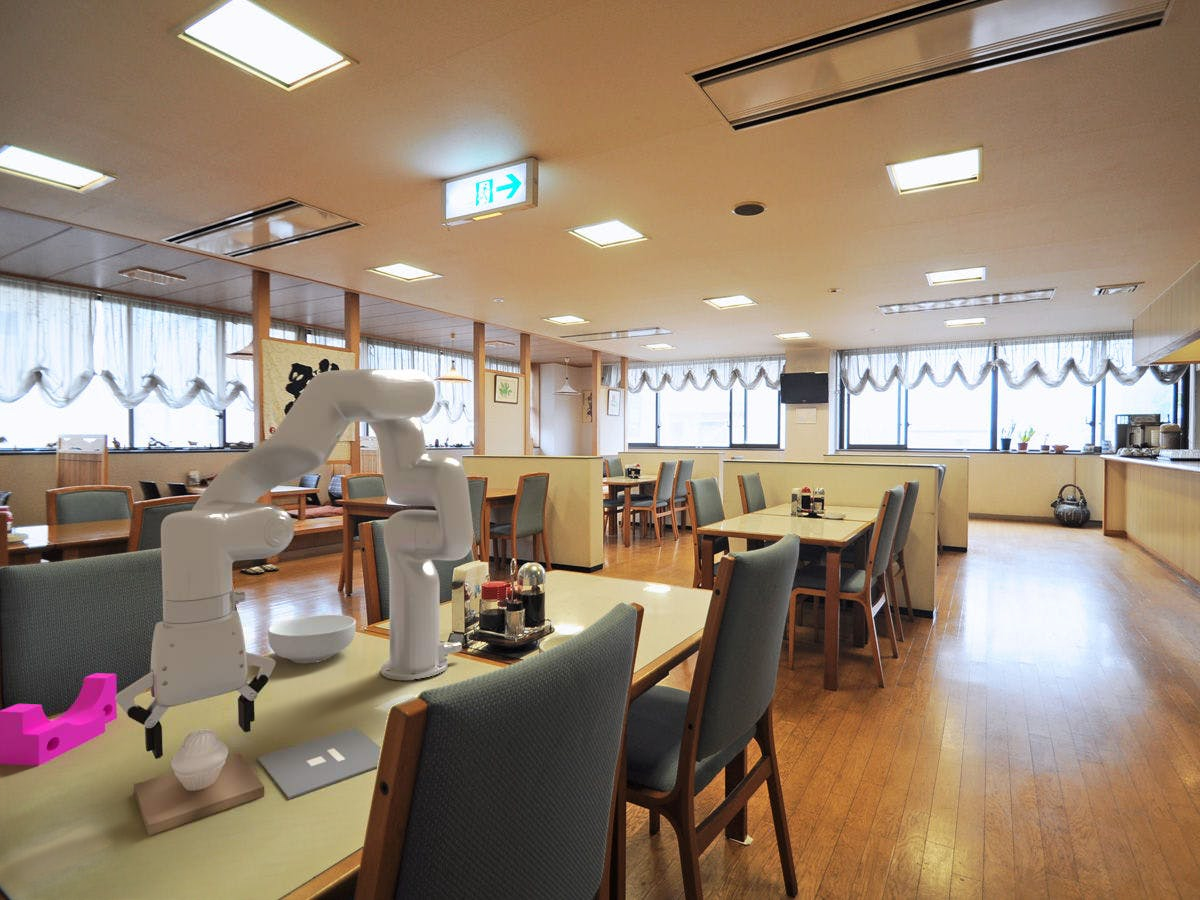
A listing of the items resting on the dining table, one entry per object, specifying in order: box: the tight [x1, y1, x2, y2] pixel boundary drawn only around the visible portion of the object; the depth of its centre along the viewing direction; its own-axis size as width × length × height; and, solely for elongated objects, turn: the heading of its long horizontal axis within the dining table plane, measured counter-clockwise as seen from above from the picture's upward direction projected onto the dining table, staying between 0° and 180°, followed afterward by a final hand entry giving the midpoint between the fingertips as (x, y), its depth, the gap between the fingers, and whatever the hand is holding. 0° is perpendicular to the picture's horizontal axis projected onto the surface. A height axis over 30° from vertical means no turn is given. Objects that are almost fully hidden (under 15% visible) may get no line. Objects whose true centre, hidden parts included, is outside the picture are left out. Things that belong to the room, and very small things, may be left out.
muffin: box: [170, 728, 229, 791], centre depth 80 cm, size 6×6×7 cm
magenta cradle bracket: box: [0, 672, 118, 767], centre depth 96 cm, size 15×6×8 cm, turn 174°
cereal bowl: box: [267, 614, 357, 664], centre depth 133 cm, size 17×17×7 cm
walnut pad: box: [133, 752, 265, 836], centre depth 80 cm, size 12×12×1 cm
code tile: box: [256, 727, 382, 800], centre depth 89 cm, size 14×14×1 cm
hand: (202, 740), depth 81 cm, fingers open, 9 cm apart
